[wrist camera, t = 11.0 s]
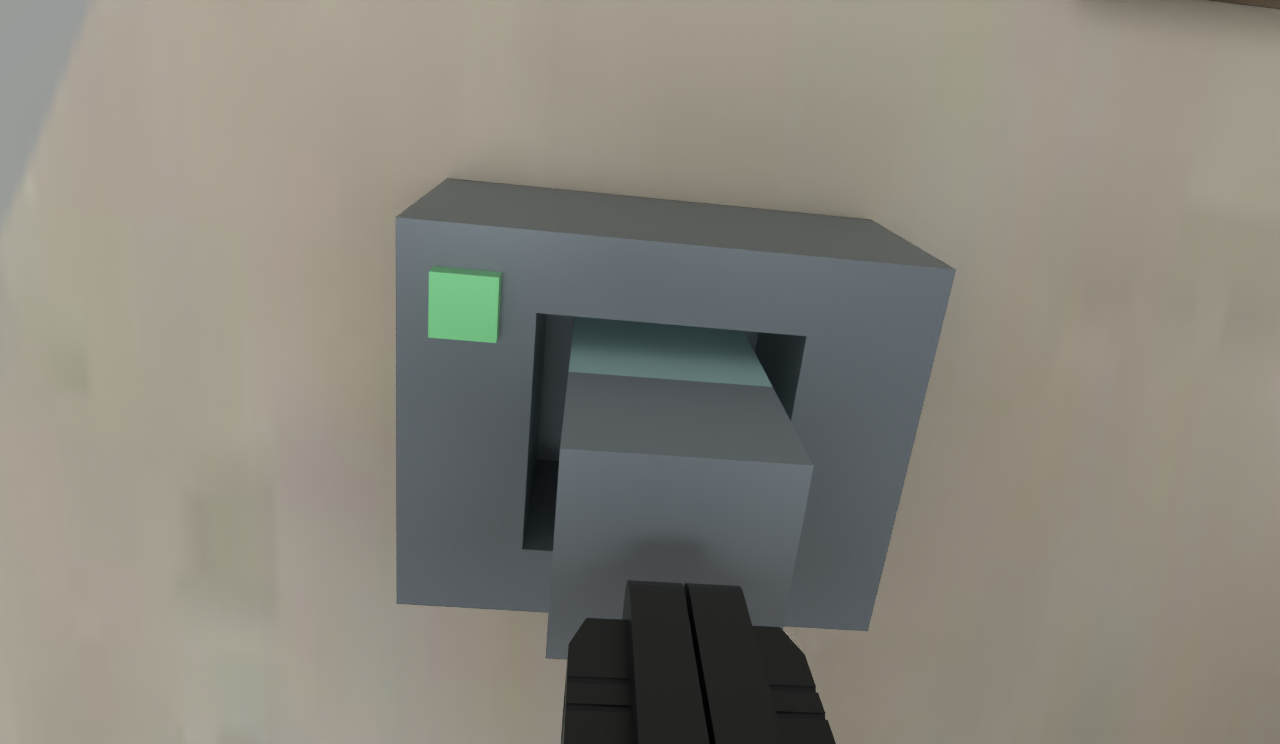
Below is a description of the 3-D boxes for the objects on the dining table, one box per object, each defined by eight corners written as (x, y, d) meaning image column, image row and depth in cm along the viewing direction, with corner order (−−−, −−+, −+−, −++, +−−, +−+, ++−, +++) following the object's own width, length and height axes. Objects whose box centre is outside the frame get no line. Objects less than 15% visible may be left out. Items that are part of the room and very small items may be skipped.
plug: (731, 307, 19) (813, 465, 12) (711, 445, 20) (775, 669, 13) (577, 294, 19) (560, 448, 11) (566, 436, 20) (545, 658, 13)
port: (871, 220, 19) (965, 275, 14) (812, 511, 22) (873, 643, 17) (447, 178, 19) (389, 221, 14) (441, 486, 22) (391, 616, 16)
